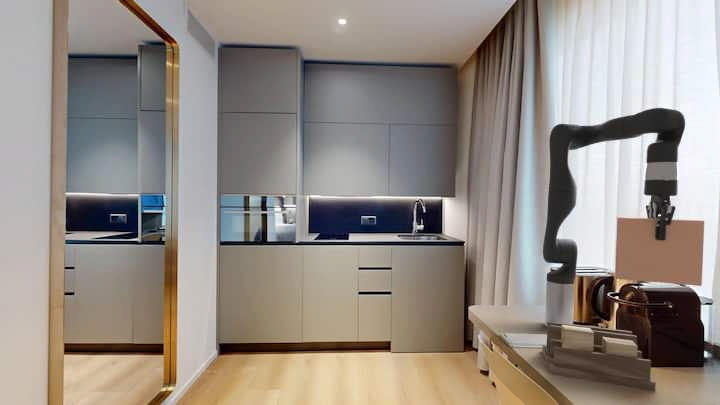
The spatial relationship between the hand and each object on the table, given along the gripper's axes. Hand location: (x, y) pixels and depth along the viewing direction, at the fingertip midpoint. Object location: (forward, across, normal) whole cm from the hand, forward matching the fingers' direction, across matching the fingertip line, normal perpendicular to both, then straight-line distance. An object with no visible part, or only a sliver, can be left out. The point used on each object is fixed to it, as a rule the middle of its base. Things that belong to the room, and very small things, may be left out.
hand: (658, 239), depth 108 cm
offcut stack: (+35, +12, -17) cm, 41 cm away
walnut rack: (+37, +7, -17) cm, 41 cm away
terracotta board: (+12, 0, 0) cm, 12 cm away
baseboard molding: (+38, -9, -25) cm, 46 cm away
